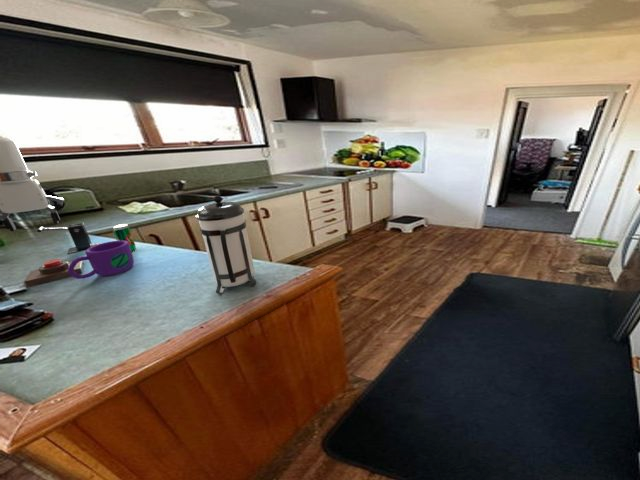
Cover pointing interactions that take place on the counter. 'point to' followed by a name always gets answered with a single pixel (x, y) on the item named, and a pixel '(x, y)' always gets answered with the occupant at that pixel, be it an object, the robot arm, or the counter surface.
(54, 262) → the lamp button
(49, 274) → the lamp base
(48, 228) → the lever
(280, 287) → the counter surface
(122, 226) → the soda can
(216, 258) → the coffee press
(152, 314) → the counter surface
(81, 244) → the switch bracket
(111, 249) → the mug
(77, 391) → the counter surface
